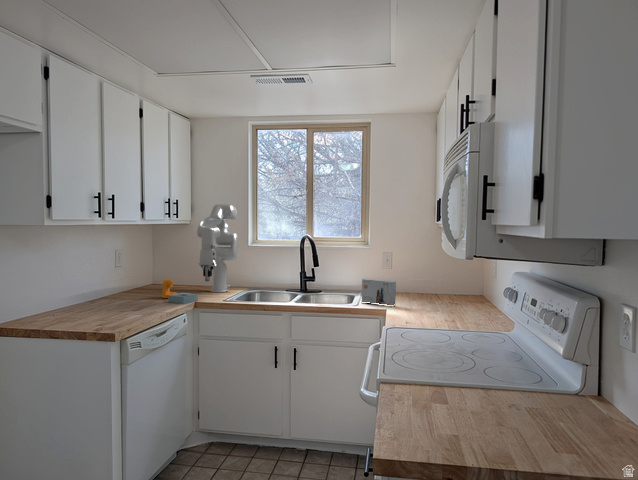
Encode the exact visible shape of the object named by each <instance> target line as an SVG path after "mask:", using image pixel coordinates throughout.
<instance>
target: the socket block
mask: <svg viewBox="0 0 638 480" xmlns="http://www.w3.org/2000/svg"><path fill="white" fill-rule="evenodd" d="M198 298H199V297H198V294H197V293H191V292H190V293H189V292H180V293H179V292H178V293H177V294H173V295H169V298H168V303H173V304H181V305H182V304H183V305H187V304H190V303H194V302H198V301H199V300H198Z"/></svg>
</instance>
